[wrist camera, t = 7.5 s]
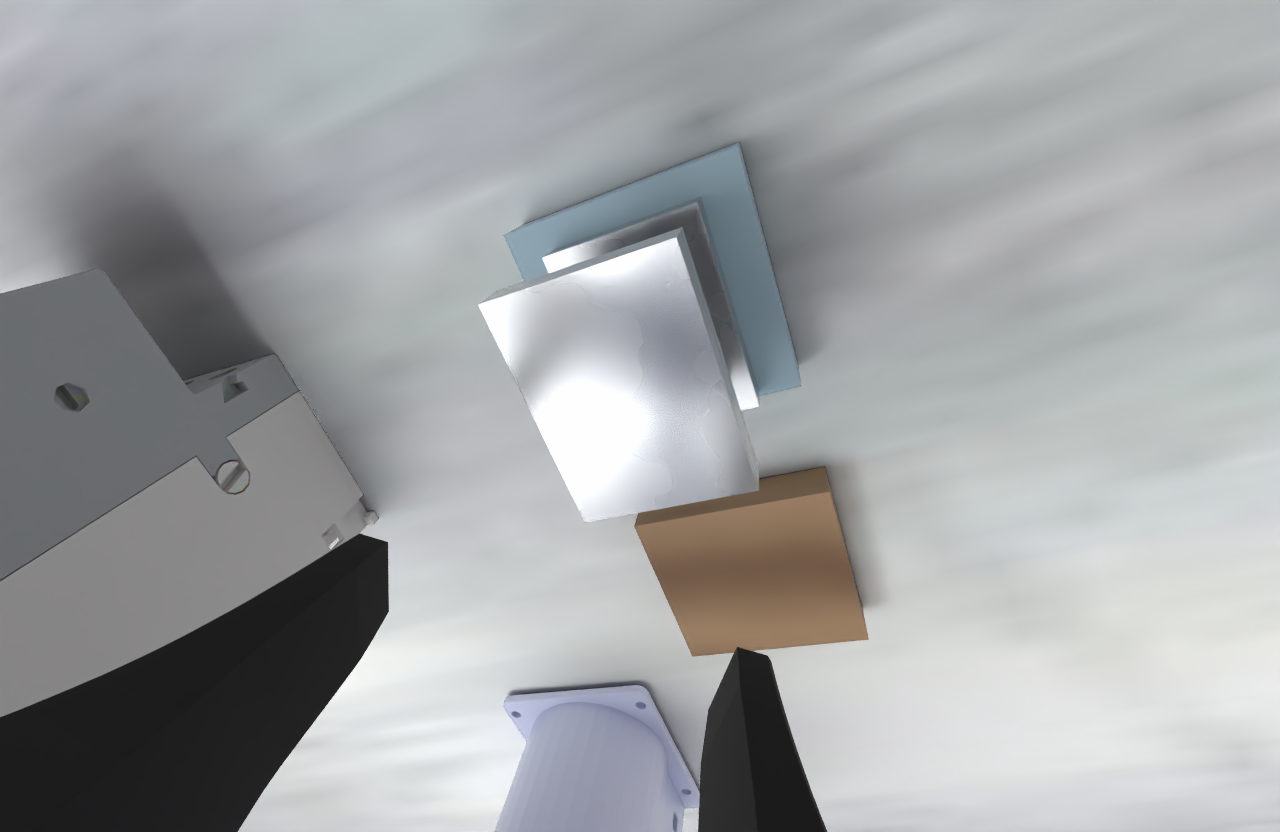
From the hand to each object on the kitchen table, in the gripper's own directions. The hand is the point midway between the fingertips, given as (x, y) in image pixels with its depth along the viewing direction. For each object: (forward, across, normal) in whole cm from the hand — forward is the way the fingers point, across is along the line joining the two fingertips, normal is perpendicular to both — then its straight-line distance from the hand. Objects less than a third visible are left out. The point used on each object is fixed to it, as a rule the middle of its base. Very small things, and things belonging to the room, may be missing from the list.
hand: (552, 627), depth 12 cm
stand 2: (+10, -6, +5) cm, 13 cm away
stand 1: (+10, 0, -4) cm, 11 cm away
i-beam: (+9, 0, -4) cm, 9 cm away
